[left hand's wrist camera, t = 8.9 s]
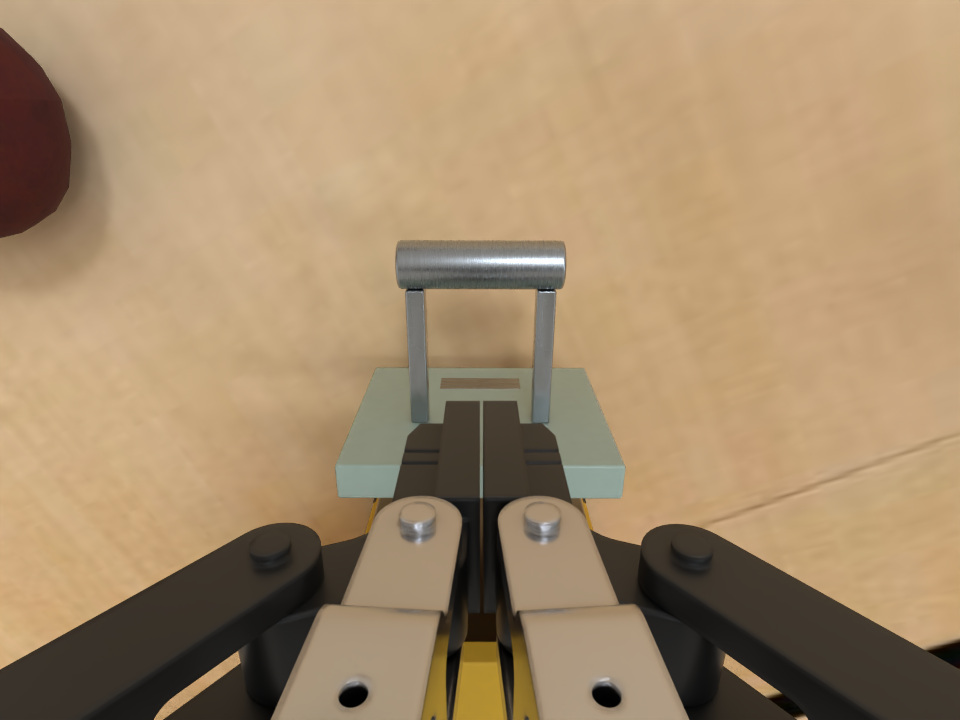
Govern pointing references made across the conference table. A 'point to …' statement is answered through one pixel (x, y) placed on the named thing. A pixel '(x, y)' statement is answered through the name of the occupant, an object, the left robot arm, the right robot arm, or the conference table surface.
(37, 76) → the dark maroon ball
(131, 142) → the conference table surface
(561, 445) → the drawer
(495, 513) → the left robot arm
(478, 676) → the cabinet
